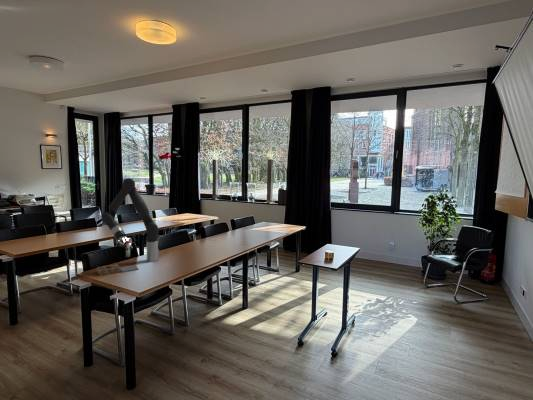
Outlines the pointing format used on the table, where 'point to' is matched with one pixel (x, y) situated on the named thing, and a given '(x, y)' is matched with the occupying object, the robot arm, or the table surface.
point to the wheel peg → (128, 247)
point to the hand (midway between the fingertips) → (129, 249)
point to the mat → (128, 268)
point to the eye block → (108, 269)
